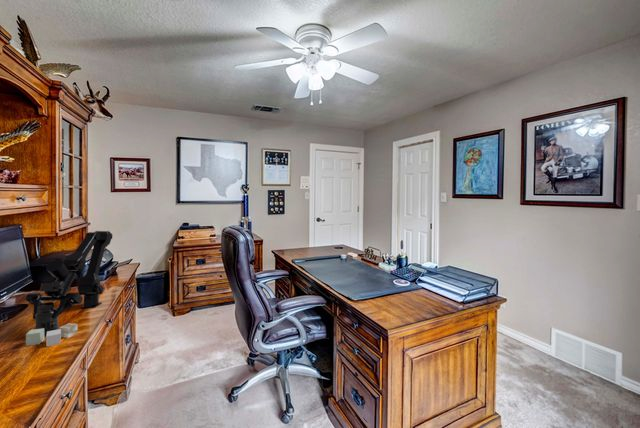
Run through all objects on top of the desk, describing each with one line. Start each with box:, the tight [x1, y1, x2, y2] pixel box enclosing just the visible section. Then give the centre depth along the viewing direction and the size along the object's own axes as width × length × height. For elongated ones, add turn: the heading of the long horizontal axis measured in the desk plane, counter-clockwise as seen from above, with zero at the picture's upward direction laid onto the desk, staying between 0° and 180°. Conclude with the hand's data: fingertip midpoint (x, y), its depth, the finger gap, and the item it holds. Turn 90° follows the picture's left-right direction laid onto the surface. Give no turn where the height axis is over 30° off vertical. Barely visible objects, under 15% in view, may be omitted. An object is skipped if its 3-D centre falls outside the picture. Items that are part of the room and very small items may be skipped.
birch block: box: [58, 322, 78, 339], centre depth 119 cm, size 4×4×4 cm
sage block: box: [25, 328, 45, 347], centre depth 112 cm, size 4×4×4 cm
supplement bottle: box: [34, 301, 59, 337], centre depth 120 cm, size 7×7×12 cm
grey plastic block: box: [45, 328, 62, 347], centre depth 113 cm, size 5×4×4 cm
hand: (44, 318), depth 118 cm, fingers closed on supplement bottle, 7 cm apart
